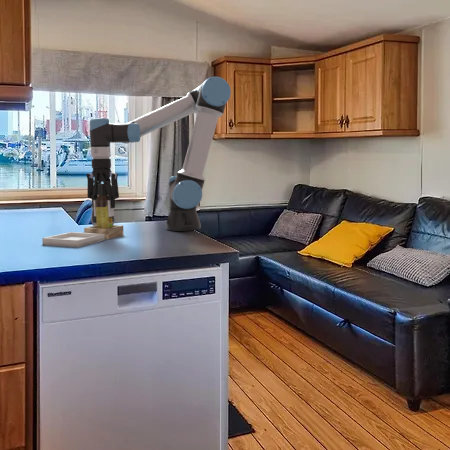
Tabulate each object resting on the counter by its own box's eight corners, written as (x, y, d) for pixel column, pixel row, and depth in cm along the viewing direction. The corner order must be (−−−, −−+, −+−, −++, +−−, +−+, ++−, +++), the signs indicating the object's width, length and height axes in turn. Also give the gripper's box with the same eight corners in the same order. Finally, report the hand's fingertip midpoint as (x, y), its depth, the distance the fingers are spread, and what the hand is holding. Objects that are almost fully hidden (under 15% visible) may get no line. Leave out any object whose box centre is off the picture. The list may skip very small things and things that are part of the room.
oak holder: (123, 235, 219) (123, 225, 218) (107, 239, 209) (106, 229, 208) (101, 233, 223) (101, 224, 223) (84, 237, 213) (84, 227, 213)
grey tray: (104, 240, 206) (104, 234, 206) (77, 247, 192) (76, 240, 192) (71, 238, 213) (71, 231, 213) (42, 244, 198) (42, 238, 198)
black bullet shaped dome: (118, 227, 241) (117, 193, 239) (111, 231, 231) (109, 195, 229) (96, 227, 242) (94, 194, 240) (88, 231, 232) (86, 196, 230)
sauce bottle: (113, 233, 214) (110, 183, 211) (97, 234, 212) (94, 184, 209) (112, 231, 220) (110, 182, 217) (97, 232, 218) (94, 183, 216)
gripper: (75, 158, 212) (78, 216, 216) (115, 157, 205) (118, 218, 208) (87, 158, 219) (90, 214, 222) (126, 157, 211) (129, 215, 215)
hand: (104, 215), depth 215 cm, fingers closed on sauce bottle, 6 cm apart
